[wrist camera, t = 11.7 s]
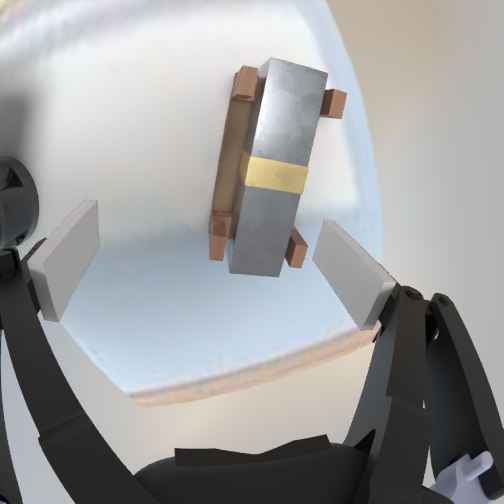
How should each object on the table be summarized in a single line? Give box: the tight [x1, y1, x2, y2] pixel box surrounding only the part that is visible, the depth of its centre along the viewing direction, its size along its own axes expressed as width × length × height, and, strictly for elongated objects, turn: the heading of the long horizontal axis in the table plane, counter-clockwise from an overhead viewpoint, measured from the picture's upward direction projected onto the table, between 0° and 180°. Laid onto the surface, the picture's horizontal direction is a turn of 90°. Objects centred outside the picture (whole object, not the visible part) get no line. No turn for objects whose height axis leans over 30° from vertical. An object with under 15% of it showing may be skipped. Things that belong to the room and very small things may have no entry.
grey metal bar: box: [226, 58, 328, 277], centre depth 30 cm, size 24×6×6 cm, turn 169°
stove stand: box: [209, 66, 347, 268], centre depth 32 cm, size 11×22×10 cm, turn 169°
